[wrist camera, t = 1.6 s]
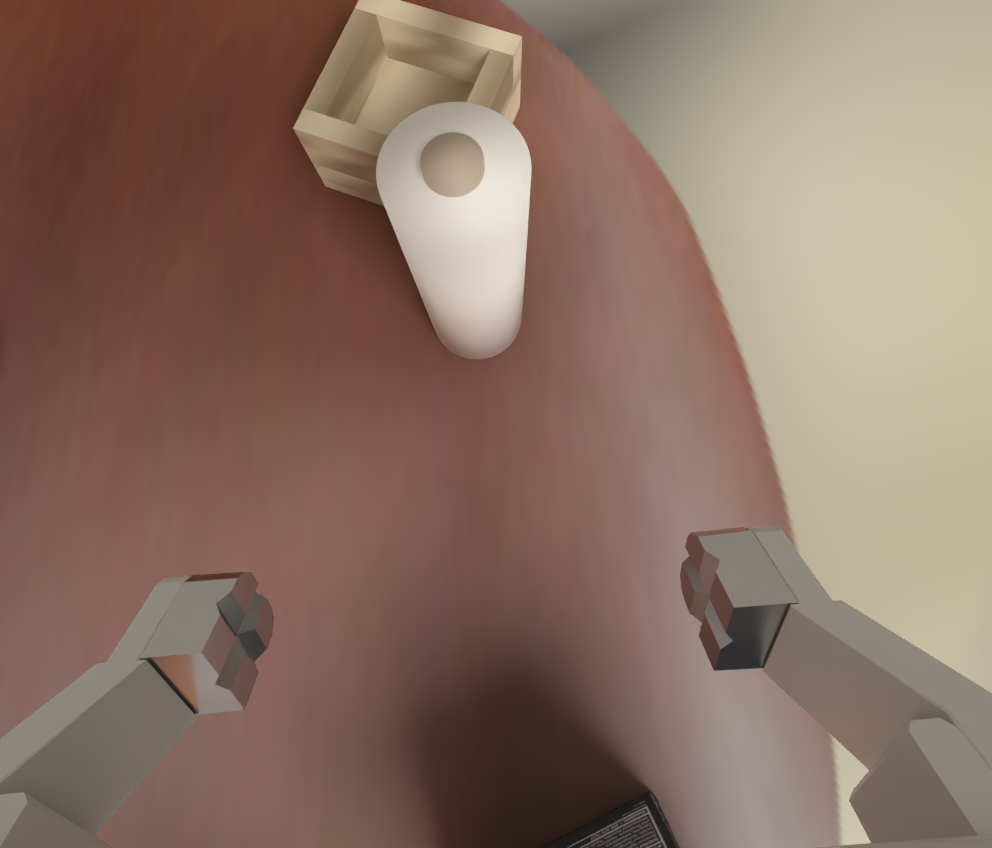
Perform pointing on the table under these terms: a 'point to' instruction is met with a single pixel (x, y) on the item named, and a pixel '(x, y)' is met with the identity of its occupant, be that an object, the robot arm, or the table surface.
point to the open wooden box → (399, 84)
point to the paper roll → (461, 220)
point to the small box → (625, 828)
